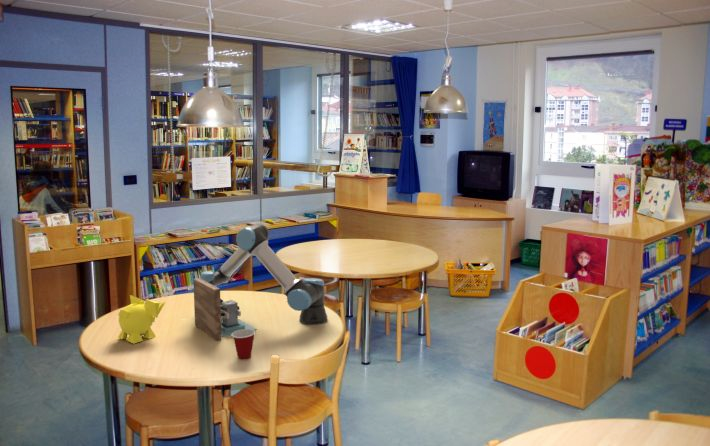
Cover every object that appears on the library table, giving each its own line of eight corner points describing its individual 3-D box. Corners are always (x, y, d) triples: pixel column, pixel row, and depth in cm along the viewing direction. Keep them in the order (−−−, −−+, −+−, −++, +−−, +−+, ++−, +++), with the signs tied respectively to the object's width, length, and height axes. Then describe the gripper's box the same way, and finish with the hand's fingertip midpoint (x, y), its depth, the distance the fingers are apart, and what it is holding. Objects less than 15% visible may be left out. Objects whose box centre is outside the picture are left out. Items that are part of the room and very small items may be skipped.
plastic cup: (233, 353, 286) (232, 328, 284) (256, 352, 287) (256, 328, 285) (230, 362, 276) (229, 336, 274) (254, 361, 277) (254, 336, 275)
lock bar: (232, 321, 325) (232, 299, 323) (237, 324, 320) (237, 302, 318) (222, 323, 321) (221, 301, 319) (227, 327, 316) (226, 304, 314)
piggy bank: (167, 335, 310) (166, 298, 307) (135, 346, 293) (133, 307, 290) (141, 327, 320) (139, 291, 317) (109, 338, 304) (106, 300, 301)
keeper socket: (239, 319, 335) (239, 316, 334) (256, 329, 319) (256, 326, 318) (204, 326, 323) (204, 323, 322) (220, 337, 307) (220, 333, 307)
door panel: (201, 325, 325) (199, 277, 320) (222, 339, 304) (221, 288, 300) (195, 326, 323) (193, 278, 318) (215, 340, 302) (214, 289, 298)
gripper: (231, 307, 340) (251, 318, 322) (198, 313, 328) (217, 325, 310) (231, 294, 339) (250, 304, 320) (198, 300, 327) (216, 311, 309)
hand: (234, 314), depth 315 cm, fingers closed on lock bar, 6 cm apart
